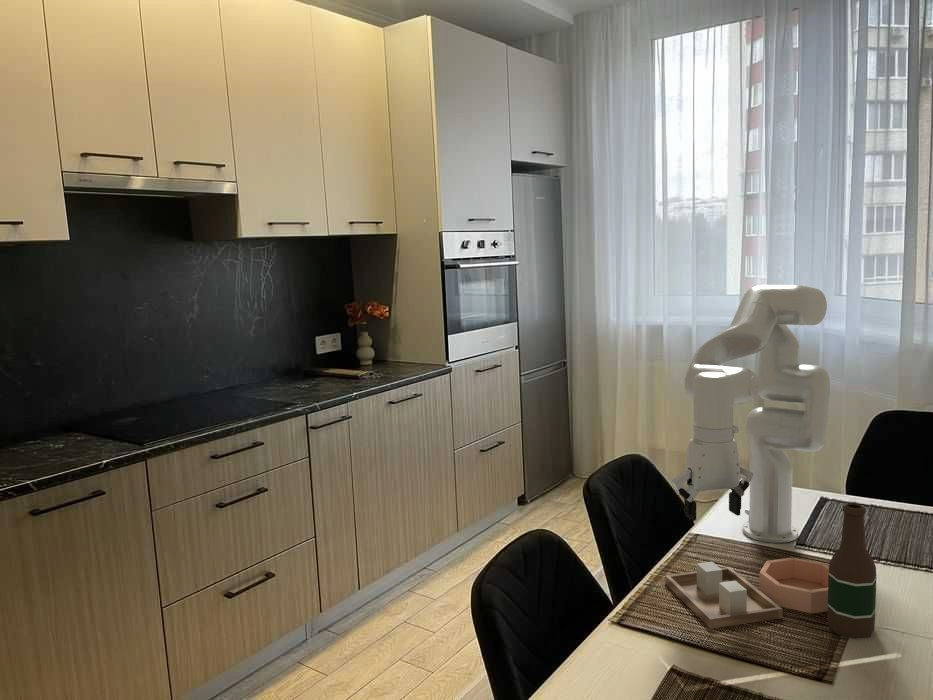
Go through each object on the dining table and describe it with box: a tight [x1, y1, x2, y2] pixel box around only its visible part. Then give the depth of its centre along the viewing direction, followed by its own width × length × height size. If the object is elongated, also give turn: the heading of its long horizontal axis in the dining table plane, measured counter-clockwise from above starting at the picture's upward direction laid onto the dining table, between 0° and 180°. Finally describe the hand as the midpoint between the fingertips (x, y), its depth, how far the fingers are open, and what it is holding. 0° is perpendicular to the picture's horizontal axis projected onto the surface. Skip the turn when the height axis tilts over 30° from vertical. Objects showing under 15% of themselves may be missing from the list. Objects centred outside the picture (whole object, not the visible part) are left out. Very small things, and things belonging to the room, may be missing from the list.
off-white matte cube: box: [696, 561, 722, 595], centre depth 148 cm, size 4×4×5 cm
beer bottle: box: [826, 503, 877, 640], centre depth 130 cm, size 8×8×24 cm
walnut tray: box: [664, 566, 783, 629], centre depth 144 cm, size 19×15×2 cm
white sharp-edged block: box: [719, 581, 747, 614], centre depth 140 cm, size 4×4×5 cm
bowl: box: [759, 557, 829, 614], centre depth 145 cm, size 15×15×5 cm
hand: (712, 515), depth 146 cm, fingers open, 9 cm apart
